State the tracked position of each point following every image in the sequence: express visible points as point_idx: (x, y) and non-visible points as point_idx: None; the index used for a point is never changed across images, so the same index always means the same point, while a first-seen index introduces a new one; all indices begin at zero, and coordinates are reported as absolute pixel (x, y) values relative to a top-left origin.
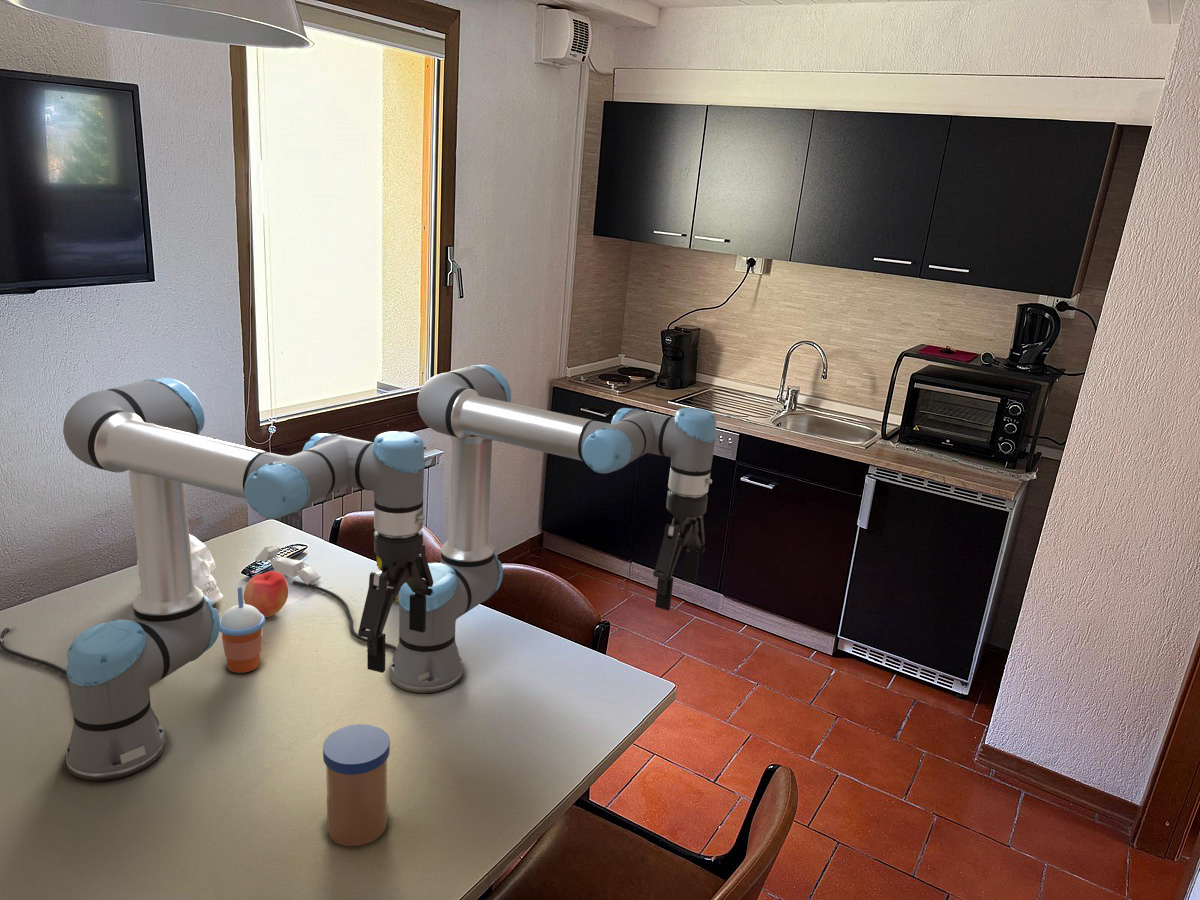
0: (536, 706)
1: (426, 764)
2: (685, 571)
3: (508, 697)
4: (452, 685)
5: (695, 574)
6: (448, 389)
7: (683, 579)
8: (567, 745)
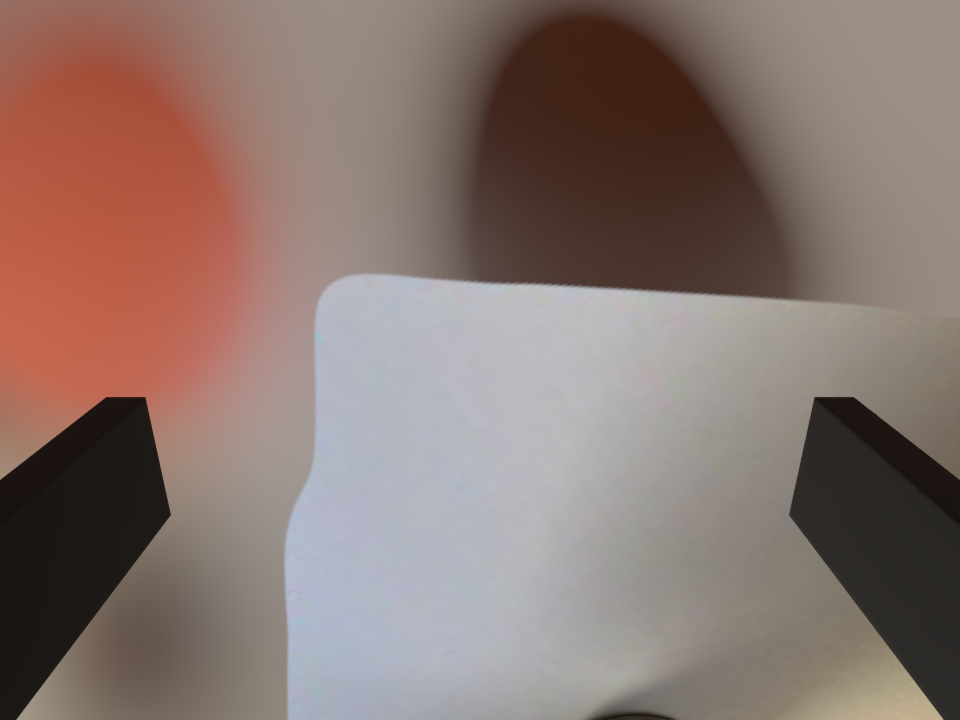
0: (620, 537)
1: None
2: (110, 563)
3: (619, 605)
4: (649, 717)
5: (83, 455)
6: None
7: (162, 512)
8: (745, 398)
